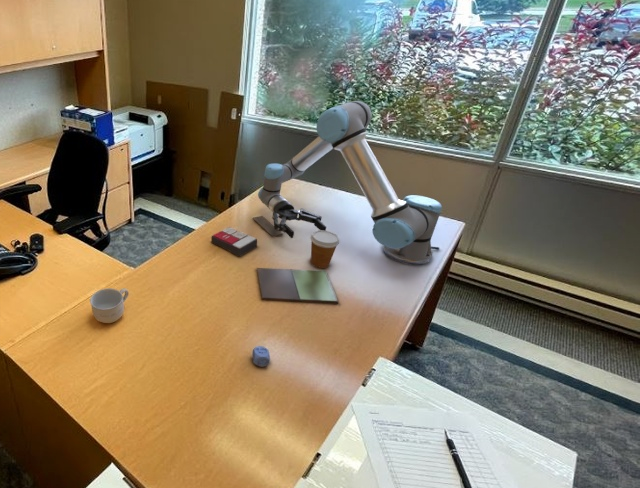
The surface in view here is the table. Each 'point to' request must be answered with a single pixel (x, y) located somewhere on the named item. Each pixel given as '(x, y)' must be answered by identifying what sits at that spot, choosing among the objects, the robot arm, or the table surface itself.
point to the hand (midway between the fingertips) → (308, 232)
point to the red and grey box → (234, 241)
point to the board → (296, 285)
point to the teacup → (108, 304)
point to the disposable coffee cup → (323, 248)
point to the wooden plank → (267, 226)
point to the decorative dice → (261, 356)
